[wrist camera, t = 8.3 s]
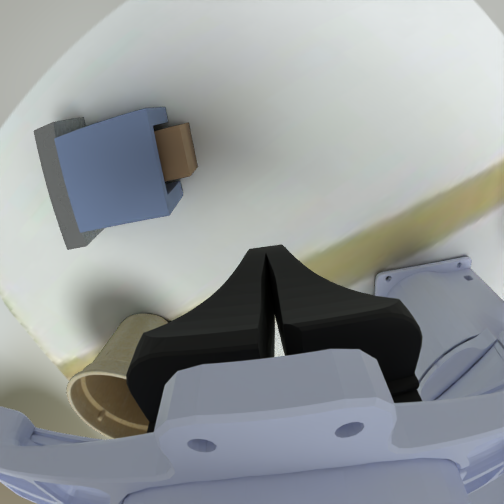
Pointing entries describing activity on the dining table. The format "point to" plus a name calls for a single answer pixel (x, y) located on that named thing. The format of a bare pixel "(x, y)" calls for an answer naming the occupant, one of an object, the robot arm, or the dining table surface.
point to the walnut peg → (176, 151)
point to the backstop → (61, 181)
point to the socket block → (116, 171)
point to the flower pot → (112, 383)
